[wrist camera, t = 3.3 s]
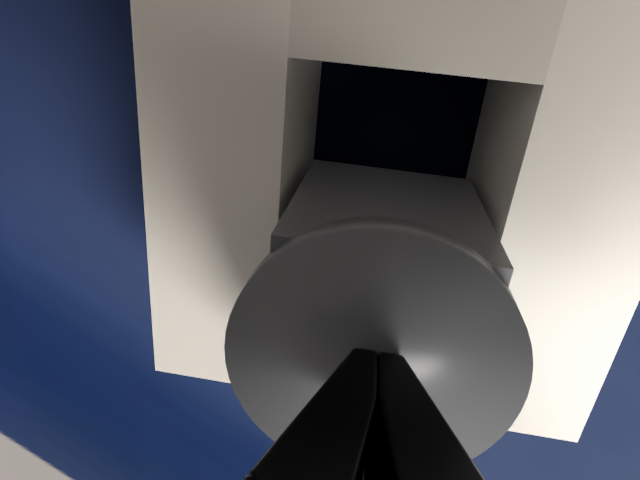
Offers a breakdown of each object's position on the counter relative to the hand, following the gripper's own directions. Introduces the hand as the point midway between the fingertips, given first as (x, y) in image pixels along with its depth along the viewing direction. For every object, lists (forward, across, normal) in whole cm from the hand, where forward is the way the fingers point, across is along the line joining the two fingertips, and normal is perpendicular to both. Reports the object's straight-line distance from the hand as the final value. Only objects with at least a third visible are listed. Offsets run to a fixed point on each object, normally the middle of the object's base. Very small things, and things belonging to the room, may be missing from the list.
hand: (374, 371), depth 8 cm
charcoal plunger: (+5, 0, 0) cm, 5 cm away
